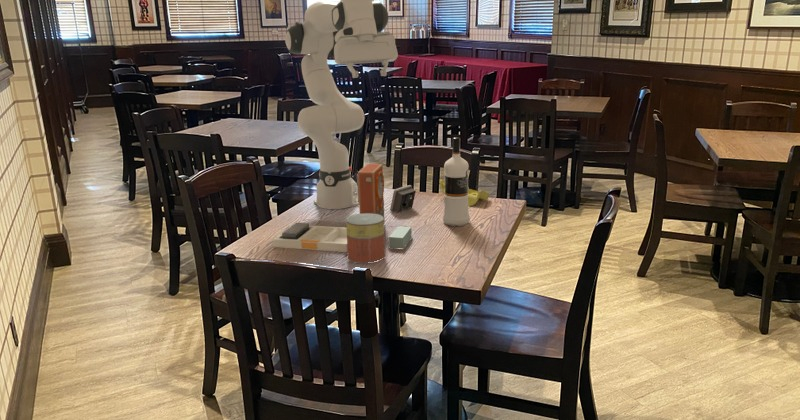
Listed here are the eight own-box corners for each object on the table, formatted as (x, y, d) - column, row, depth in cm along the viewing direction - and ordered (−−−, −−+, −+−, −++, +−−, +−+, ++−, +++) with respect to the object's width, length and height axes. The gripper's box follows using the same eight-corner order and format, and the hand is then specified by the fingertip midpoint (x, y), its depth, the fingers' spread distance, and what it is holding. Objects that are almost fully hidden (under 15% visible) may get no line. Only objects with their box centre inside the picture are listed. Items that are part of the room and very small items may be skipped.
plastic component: (491, 195, 236) (479, 189, 228) (485, 212, 236) (473, 207, 228) (451, 184, 248) (438, 178, 240) (445, 201, 248) (432, 195, 240)
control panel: (387, 222, 212) (377, 236, 198) (368, 222, 214) (356, 235, 200) (385, 163, 206) (374, 173, 192) (365, 162, 208) (353, 172, 194)
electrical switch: (406, 206, 232) (407, 183, 229) (416, 209, 229) (417, 186, 226) (389, 212, 225) (390, 188, 222) (399, 215, 222) (400, 191, 219)
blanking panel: (398, 237, 197) (398, 226, 196) (411, 238, 196) (411, 226, 195) (389, 249, 187) (388, 237, 186) (403, 250, 186) (402, 237, 185)
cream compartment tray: (293, 232, 204) (293, 223, 203) (362, 237, 198) (361, 227, 197) (273, 248, 190) (272, 238, 189) (346, 253, 184) (346, 243, 183)
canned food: (367, 247, 188) (365, 210, 185) (393, 255, 181) (391, 217, 177) (339, 257, 181) (337, 219, 177) (365, 266, 173) (363, 227, 170)
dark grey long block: (297, 233, 201) (296, 222, 200) (309, 234, 200) (308, 223, 199) (283, 244, 191) (282, 233, 190) (296, 245, 190) (295, 233, 189)
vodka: (449, 217, 217) (449, 134, 208) (473, 220, 212) (474, 136, 204) (438, 224, 209) (438, 138, 200) (463, 228, 204) (463, 140, 196)
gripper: (390, 34, 196) (396, 76, 195) (329, 37, 188) (336, 81, 188) (396, 28, 190) (404, 71, 190) (334, 30, 182) (342, 75, 182)
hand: (369, 76), depth 189 cm, fingers open, 8 cm apart
